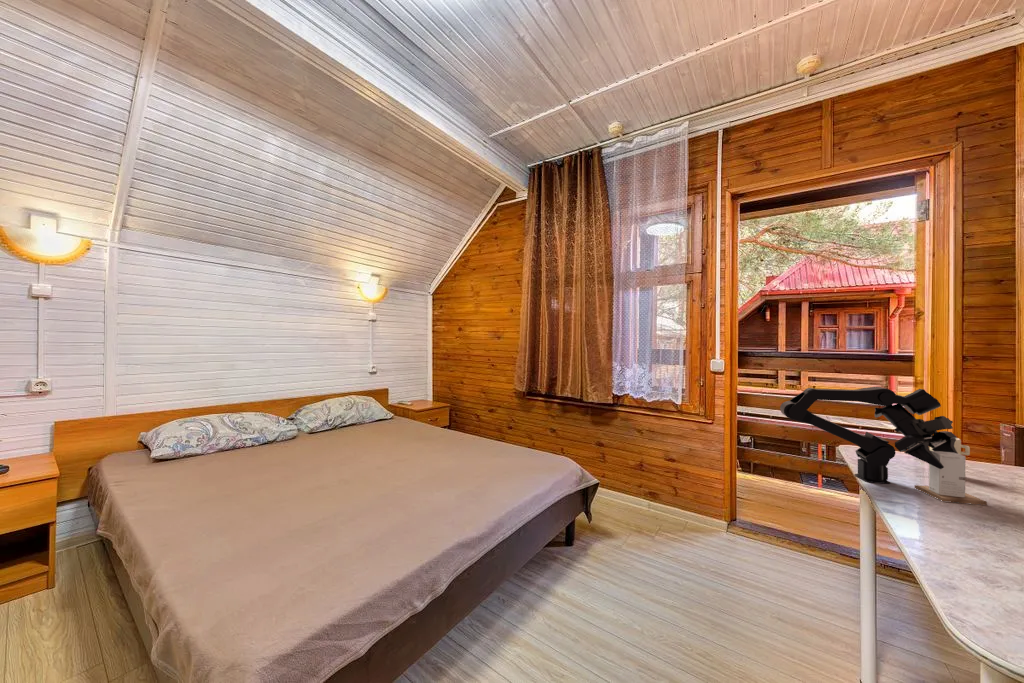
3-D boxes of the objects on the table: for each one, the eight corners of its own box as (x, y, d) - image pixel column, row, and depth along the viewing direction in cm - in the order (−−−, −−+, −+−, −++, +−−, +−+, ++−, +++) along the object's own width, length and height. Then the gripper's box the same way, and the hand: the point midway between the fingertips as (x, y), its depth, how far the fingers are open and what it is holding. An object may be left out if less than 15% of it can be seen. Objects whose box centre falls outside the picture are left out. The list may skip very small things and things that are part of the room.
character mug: (920, 472, 131) (920, 435, 131) (923, 468, 135) (923, 432, 135) (968, 481, 122) (968, 442, 122) (970, 477, 127) (970, 439, 126)
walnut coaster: (942, 501, 107) (942, 498, 107) (914, 488, 117) (914, 485, 117) (986, 505, 105) (986, 501, 105) (954, 491, 114) (954, 488, 114)
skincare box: (939, 495, 109) (939, 454, 109) (927, 489, 113) (927, 450, 113) (967, 498, 107) (967, 456, 107) (954, 492, 111) (954, 451, 111)
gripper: (907, 408, 112) (959, 455, 101) (947, 405, 117) (1001, 450, 106) (875, 428, 119) (921, 474, 109) (914, 425, 124) (962, 468, 114)
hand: (952, 466), depth 109 cm, fingers open, 9 cm apart
